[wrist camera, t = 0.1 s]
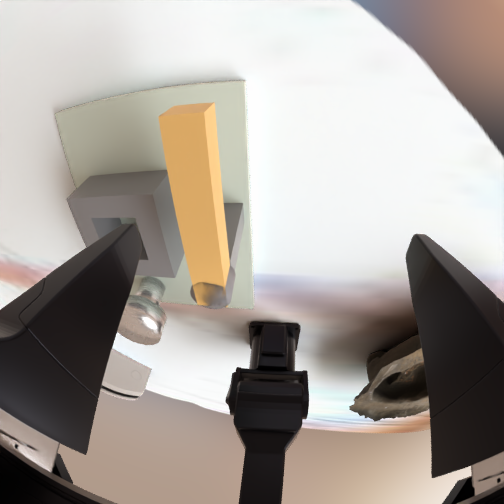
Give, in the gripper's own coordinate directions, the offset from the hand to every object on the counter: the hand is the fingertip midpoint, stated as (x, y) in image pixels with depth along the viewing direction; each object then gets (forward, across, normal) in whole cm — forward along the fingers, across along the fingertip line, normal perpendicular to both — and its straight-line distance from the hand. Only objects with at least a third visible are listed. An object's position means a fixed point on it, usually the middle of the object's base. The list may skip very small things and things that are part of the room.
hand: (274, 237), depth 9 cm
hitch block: (+15, +11, +9) cm, 20 cm away
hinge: (+15, +30, +40) cm, 52 cm away
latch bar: (+6, +4, +3) cm, 8 cm away
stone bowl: (+15, -24, +31) cm, 42 cm away
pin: (+14, +14, +18) cm, 27 cm away
